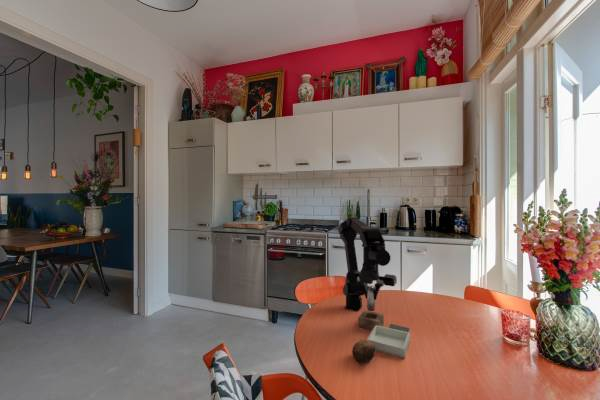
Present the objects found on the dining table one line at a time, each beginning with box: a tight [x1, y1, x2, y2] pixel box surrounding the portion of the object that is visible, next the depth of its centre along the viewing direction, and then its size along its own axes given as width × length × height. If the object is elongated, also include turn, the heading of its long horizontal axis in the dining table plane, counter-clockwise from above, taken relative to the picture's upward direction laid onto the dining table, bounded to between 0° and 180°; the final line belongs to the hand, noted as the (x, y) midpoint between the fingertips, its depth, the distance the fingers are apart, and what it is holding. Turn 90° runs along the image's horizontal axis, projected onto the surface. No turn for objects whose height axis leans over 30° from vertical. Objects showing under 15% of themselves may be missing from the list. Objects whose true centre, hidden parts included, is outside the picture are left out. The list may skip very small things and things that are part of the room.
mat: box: [388, 323, 410, 333], centre depth 103 cm, size 7×7×1 cm
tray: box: [366, 325, 411, 359], centre depth 93 cm, size 12×12×3 cm
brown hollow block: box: [357, 310, 385, 332], centre depth 107 cm, size 8×8×4 cm
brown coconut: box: [351, 339, 376, 365], centre depth 84 cm, size 8×8×6 cm
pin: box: [366, 285, 376, 312], centre depth 107 cm, size 3×3×9 cm
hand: (371, 299), depth 107 cm, fingers closed on pin, 3 cm apart
